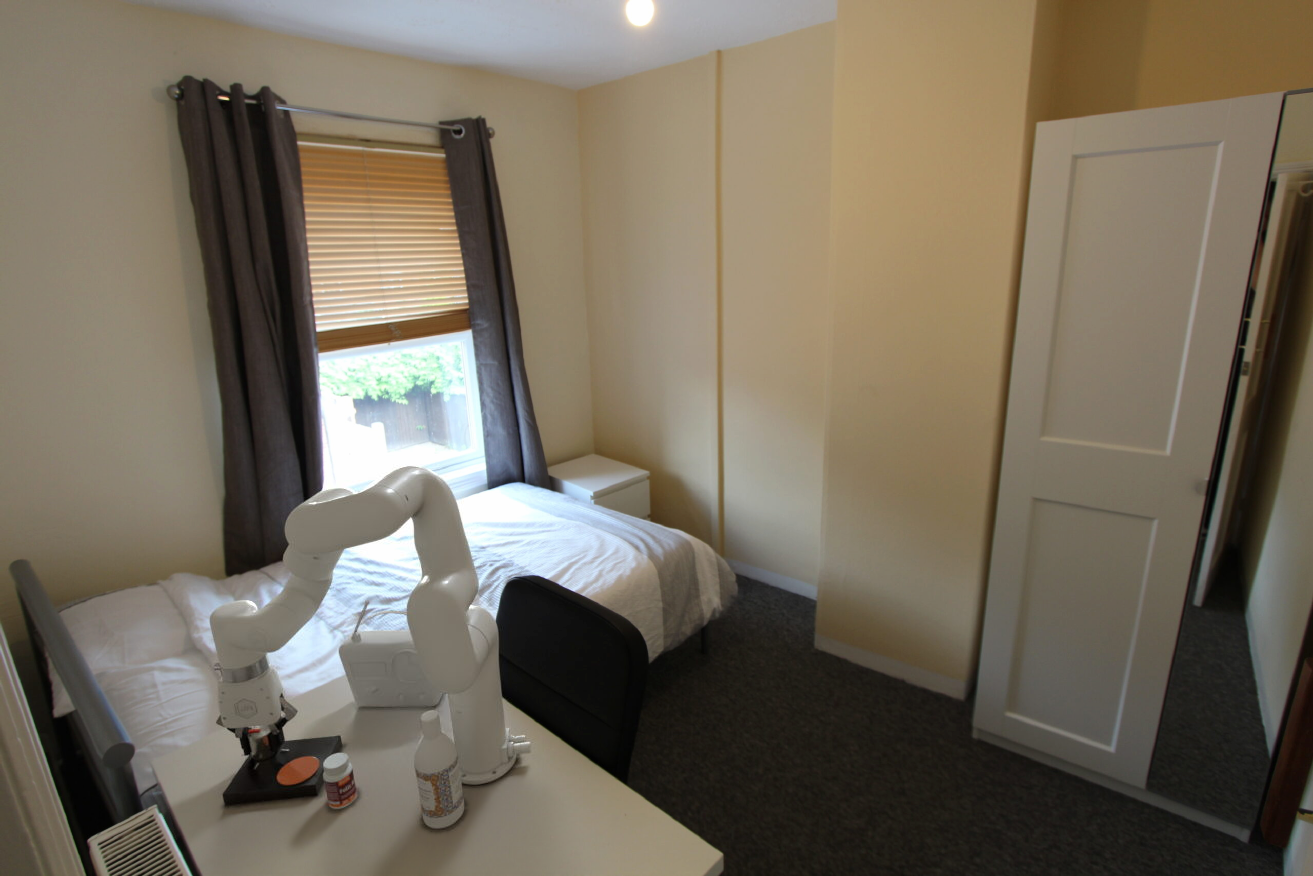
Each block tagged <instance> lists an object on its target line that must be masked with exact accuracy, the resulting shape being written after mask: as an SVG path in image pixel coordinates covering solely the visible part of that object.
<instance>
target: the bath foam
mask: <svg viewBox="0 0 1313 876" xmlns="http://www.w3.org/2000/svg"><path fill="white" fill-rule="evenodd" d="M420 726H421V732H422V736H421V737H420V740H419V742H418V744H417V745H416V748H415V751H414V756H413V758H414V759H413V763H414V771H415V777H416V778H415V779H416V783H417V791H418V797H419V803H420V808H421V815H422V819H423V822H424V824H425V825H426V826H428V827H429V828H432V829H439V830H440V829H444V828H447V827H450V826H452V825H454V824H455V823H456V822H457V821H459V819H460V818H461V817H462V816H463V814H464V811H465V800H464V791H463V783H461V776H460V769H459V762H458V755H457V750H456V747H455V742H454V740H453V739H452V738H451V737H450V736H449V735H448V734H447V733H446V732H444V731H443V730H442V725H441V719H440V713H439V712H438V711H437V710H434V709H433V710H428V711H425V712H424V713H423V714H421V716H420Z"/></svg>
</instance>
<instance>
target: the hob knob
mask: <svg viewBox="0 0 1313 876" xmlns="http://www.w3.org/2000/svg"><path fill="white" fill-rule="evenodd" d="M271 733H272V732H271V730H270V729H269V727H268V725H262V726H253V727H252V729H250V730H248V734H247V737H248V741H249V745H250V750H251V754H252V758H253V759H254V760H256V761H261V760H265V759H268V758H270V757H272V756H273V755H274V754H275V753H274V752H273V750H272V746H271V742H270V734H271Z"/></svg>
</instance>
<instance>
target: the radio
mask: <svg viewBox="0 0 1313 876" xmlns="http://www.w3.org/2000/svg"><path fill="white" fill-rule="evenodd" d="M370 602H371V600H370V599H366V600H365V602H364V606H363V608H362V611H361V613H360V615H359V618H358V620H357V623H356V624H355V627H354V629H353V631H352V632H351V633H350V634H349V635H348V637H347V638H345V640H344V641H343V642H342V643H341V644H340V645H339V647H338V656H339V659H340V661H341V665H342V667H343V670H344V673H345V676H346V679H347V682H348V685H349V687H350V690H351V693H352V696H353V700H354V702H355V704H356V706H358V707H360V708H400V707H401V708H405V707H406V708H408V707H409V708H412V707H415V708H416V707H418V708H419V707H421V708H422V707H435V706H438V704H439V702H440V700H441V699H442V697H443V695H444V693H442V692H440V691H438V690H436V689H435V688H434V687H433V686H432V685H431V684H430V683H429V682H428V681H427V679H426V677H425V675H424V673H423V671H422V668H421V665H420V662H419V659H418V656H417V652H416V649H415V646H414V643H413V639H412V636H411V633H410V630H409V629H398V630H397V629H395V630H392V629H389V630H387V629H386V630H359V627H360V626H361V625H362V624H364V622H366V621H367V620H369V619H371V618H374V617H376V616H380V615H386V614H395V615H396V614H397V615H403V616H407V614H406V611H403V610H384V611H378V612H376V613H374V614H371V615H369V616H368V617H366V618H365V619H364V620H363V617H364V616H365V613H366V610H367V608H368V606H369V605H370Z"/></svg>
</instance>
